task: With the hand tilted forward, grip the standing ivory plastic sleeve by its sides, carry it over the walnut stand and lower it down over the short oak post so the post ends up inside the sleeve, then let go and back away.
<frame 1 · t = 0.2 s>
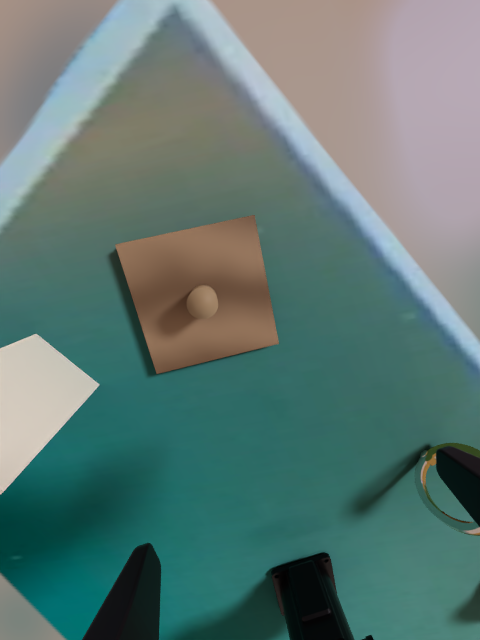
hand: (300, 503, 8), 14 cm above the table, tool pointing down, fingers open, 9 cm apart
ring: (422, 452, 27), on the table
post stand: (203, 296, 20), on the table
sleeve: (42, 385, 20), on the table
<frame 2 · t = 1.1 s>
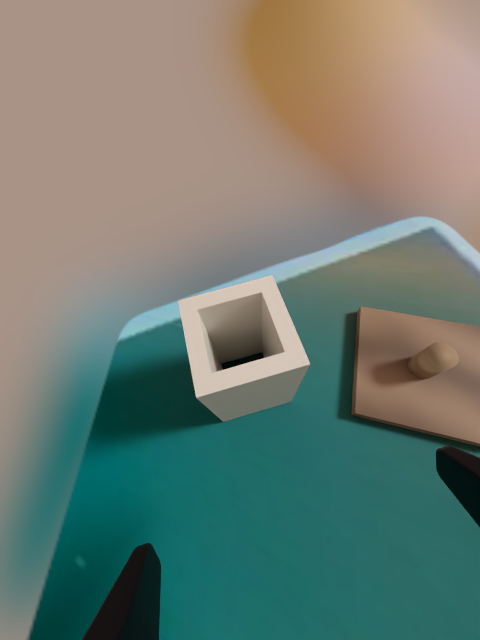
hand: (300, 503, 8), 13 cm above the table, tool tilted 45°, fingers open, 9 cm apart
post stand: (414, 370, 22), on the table
sleeve: (247, 378, 23), on the table
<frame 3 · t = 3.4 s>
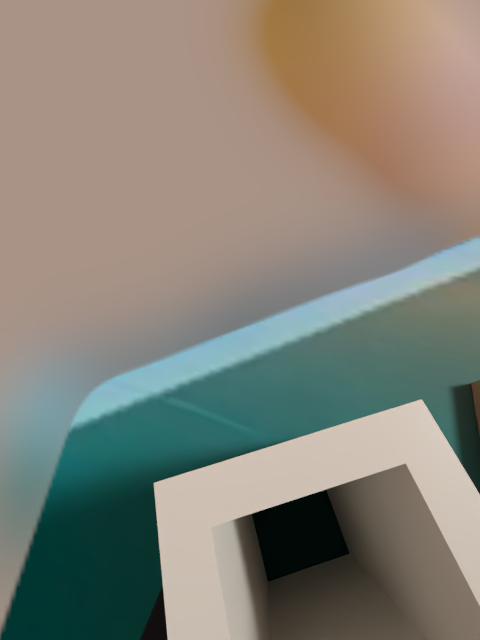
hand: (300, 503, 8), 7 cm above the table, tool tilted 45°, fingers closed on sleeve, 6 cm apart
sleeve: (293, 515, 13), on the table, touching gripper
when the fingers open (9 cm above the table, at t = 7.3 s): sleeve drops 1 cm, resting on post stand.
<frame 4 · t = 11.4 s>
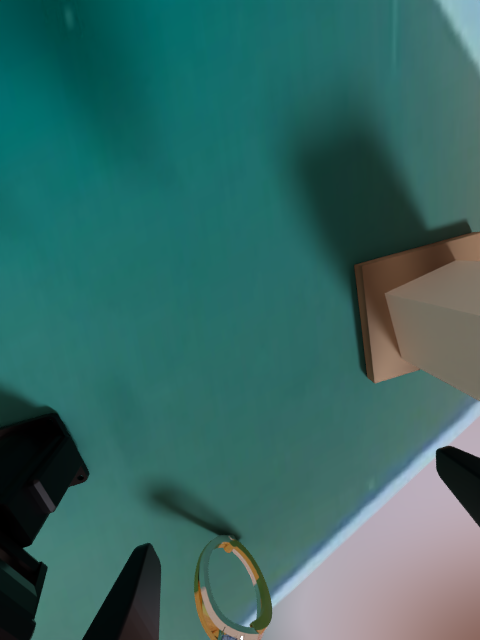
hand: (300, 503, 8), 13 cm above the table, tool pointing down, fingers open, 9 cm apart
ring: (229, 535, 25), on the table
post stand: (417, 308, 21), on the table
sleeve: (427, 311, 20), point 1 cm above the table, touching post stand
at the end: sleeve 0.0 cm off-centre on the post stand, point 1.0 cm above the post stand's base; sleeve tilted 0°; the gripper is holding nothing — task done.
